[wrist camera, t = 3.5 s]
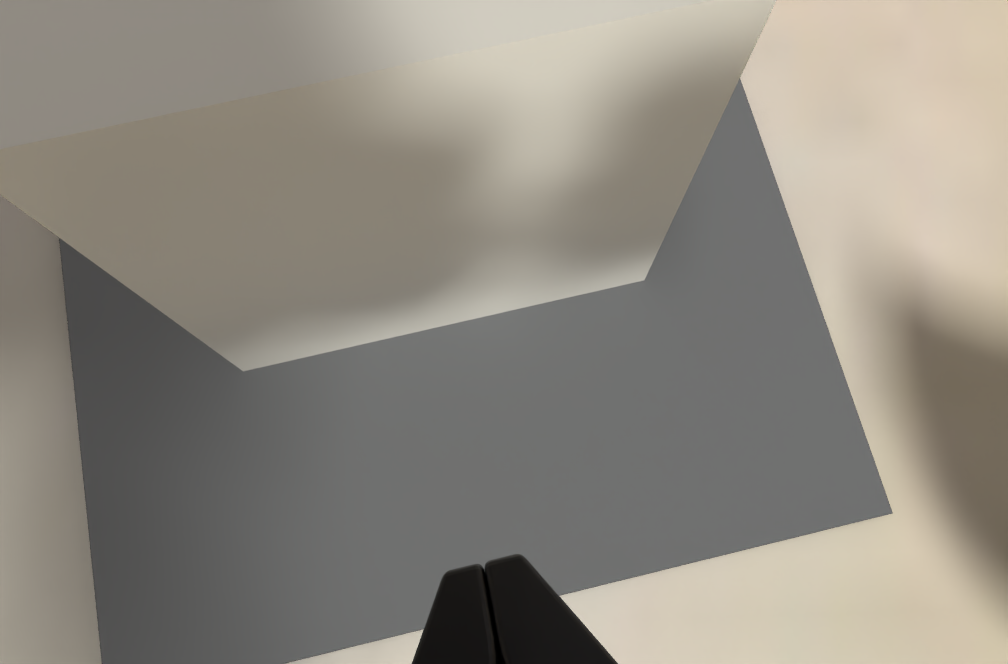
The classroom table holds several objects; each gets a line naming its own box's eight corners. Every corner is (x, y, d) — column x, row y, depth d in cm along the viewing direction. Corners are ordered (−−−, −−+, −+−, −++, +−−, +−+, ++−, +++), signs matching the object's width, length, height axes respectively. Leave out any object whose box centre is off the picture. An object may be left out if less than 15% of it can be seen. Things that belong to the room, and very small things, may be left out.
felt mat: (886, 514, 20) (892, 513, 19) (112, 705, 19) (106, 707, 18) (632, -215, 25) (634, -225, 25) (30, -98, 24) (24, -107, 24)
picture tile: (644, 280, 21) (783, -15, 10) (243, 371, 20) (-50, 159, 10) (617, 188, 22) (721, -179, 11) (227, 274, 21) (-61, -24, 10)
